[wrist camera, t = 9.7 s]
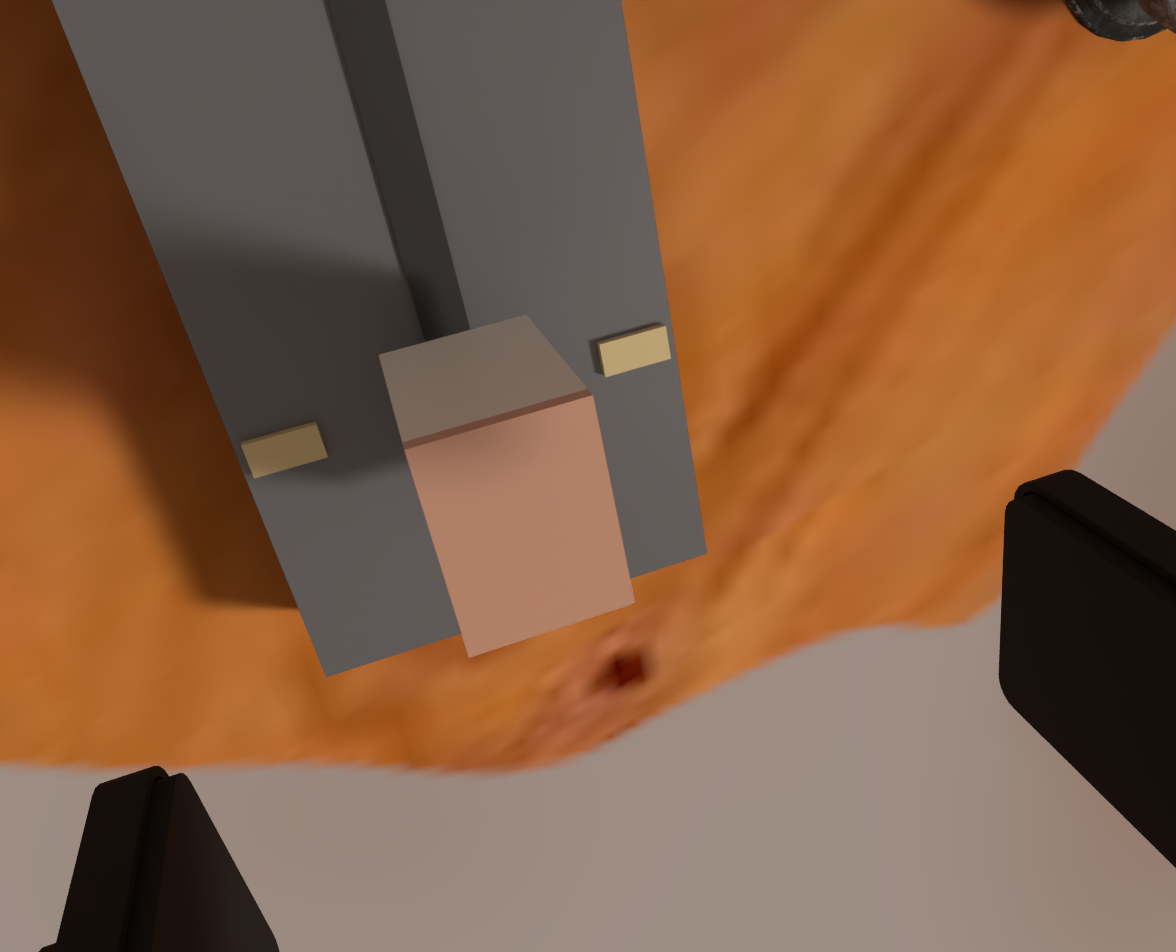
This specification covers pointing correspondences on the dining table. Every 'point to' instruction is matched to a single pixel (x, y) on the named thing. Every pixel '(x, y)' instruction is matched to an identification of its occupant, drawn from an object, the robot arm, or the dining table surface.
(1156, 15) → the dark chess piece
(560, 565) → the fader
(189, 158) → the console
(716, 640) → the dining table surface
